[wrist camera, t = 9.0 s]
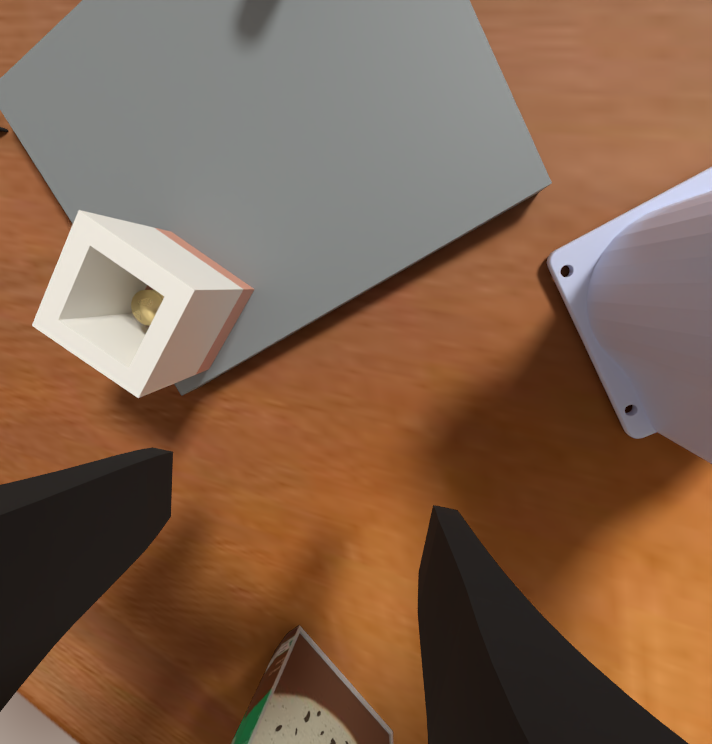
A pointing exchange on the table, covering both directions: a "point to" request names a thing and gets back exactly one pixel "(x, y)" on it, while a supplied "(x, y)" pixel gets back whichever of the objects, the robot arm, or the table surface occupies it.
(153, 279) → the sleeve
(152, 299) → the brass pin
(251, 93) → the pin board
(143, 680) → the table surface
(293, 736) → the food container
